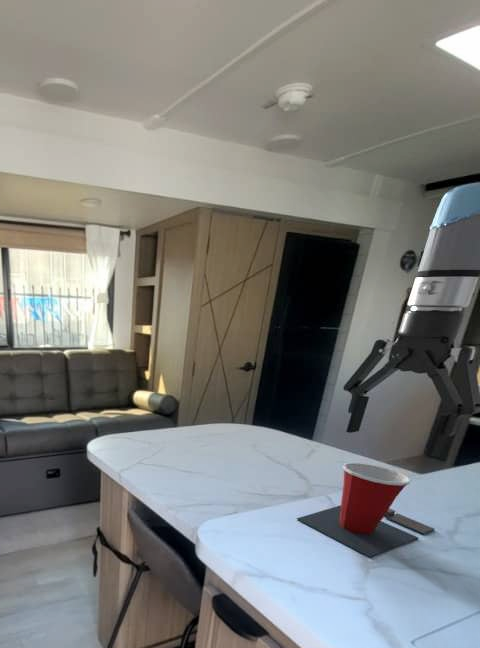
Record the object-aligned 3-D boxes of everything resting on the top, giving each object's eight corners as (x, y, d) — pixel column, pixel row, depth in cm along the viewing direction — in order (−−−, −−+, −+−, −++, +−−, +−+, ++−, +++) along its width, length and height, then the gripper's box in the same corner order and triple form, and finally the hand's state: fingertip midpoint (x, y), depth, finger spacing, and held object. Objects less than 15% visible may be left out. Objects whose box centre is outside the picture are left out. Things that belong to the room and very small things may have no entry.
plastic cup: (399, 531, 78) (423, 474, 73) (373, 548, 72) (396, 487, 67) (342, 509, 86) (360, 456, 81) (314, 522, 80) (331, 466, 75)
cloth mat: (343, 505, 88) (343, 504, 88) (417, 538, 76) (418, 537, 76) (296, 519, 82) (296, 518, 82) (369, 558, 70) (370, 556, 70)
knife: (344, 500, 90) (345, 496, 90) (355, 497, 92) (356, 492, 92) (422, 534, 78) (425, 529, 77) (433, 530, 79) (436, 525, 79)
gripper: (343, 307, 71) (312, 426, 80) (531, 311, 51) (462, 469, 60) (369, 307, 74) (337, 421, 83) (555, 311, 54) (486, 461, 63)
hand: (389, 441), depth 71 cm, fingers open, 13 cm apart
